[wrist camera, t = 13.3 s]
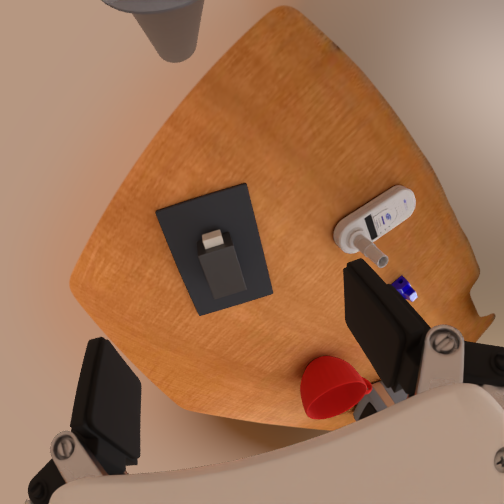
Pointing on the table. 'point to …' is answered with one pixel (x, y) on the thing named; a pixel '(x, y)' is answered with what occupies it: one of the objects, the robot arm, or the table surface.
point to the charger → (220, 264)
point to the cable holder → (404, 288)
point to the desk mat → (227, 220)
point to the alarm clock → (377, 400)
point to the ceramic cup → (331, 387)
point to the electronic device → (374, 223)
